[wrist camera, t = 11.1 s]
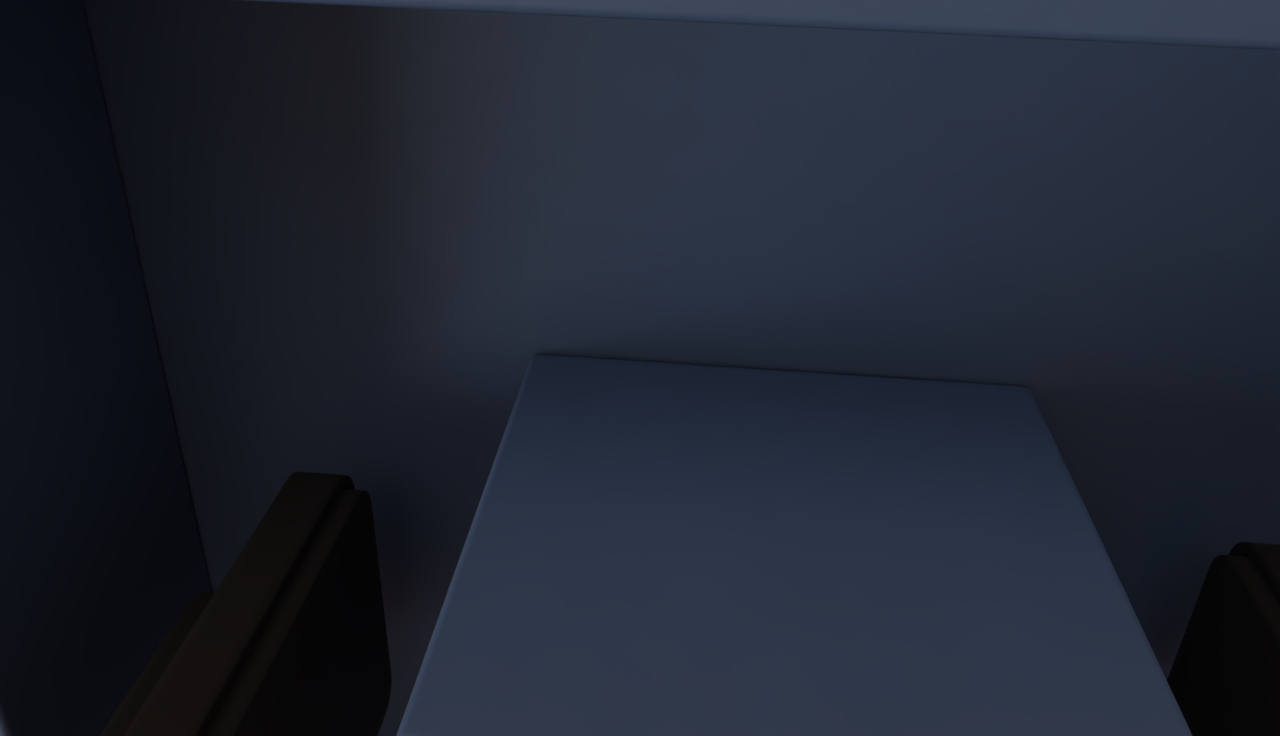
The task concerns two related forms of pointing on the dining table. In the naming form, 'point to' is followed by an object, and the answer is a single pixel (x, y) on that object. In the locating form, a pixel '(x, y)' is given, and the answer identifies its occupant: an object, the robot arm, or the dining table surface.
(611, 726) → the blue block
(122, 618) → the blue bin
